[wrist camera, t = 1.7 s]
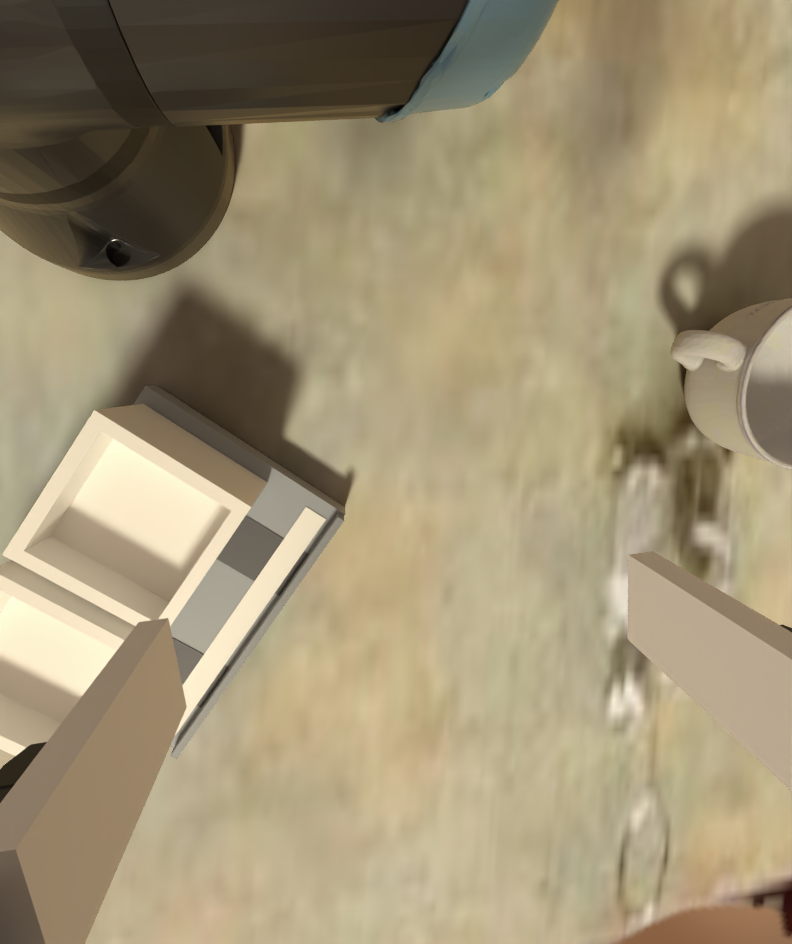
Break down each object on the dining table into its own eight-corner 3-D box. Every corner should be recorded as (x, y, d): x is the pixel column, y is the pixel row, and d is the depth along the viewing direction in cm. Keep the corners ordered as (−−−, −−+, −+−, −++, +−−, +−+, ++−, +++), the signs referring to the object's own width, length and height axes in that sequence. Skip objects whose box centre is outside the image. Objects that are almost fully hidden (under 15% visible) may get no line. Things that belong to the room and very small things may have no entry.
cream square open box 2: (68, 520, 32) (2, 554, 26) (143, 403, 31) (94, 409, 25) (193, 590, 34) (161, 640, 27) (267, 482, 33) (251, 507, 27)
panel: (-41, 691, 35) (-75, 719, 32) (156, 385, 33) (139, 385, 30) (152, 782, 38) (137, 815, 35) (344, 507, 36) (345, 518, 33)
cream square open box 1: (-11, 642, 33) (-95, 706, 26) (60, 532, 32) (-8, 570, 26) (115, 705, 35) (66, 779, 28) (185, 602, 34) (151, 654, 28)
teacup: (818, 352, 38) (941, 345, 30) (741, 476, 39) (841, 501, 32) (678, 257, 36) (773, 223, 28) (600, 393, 37) (671, 397, 29)
